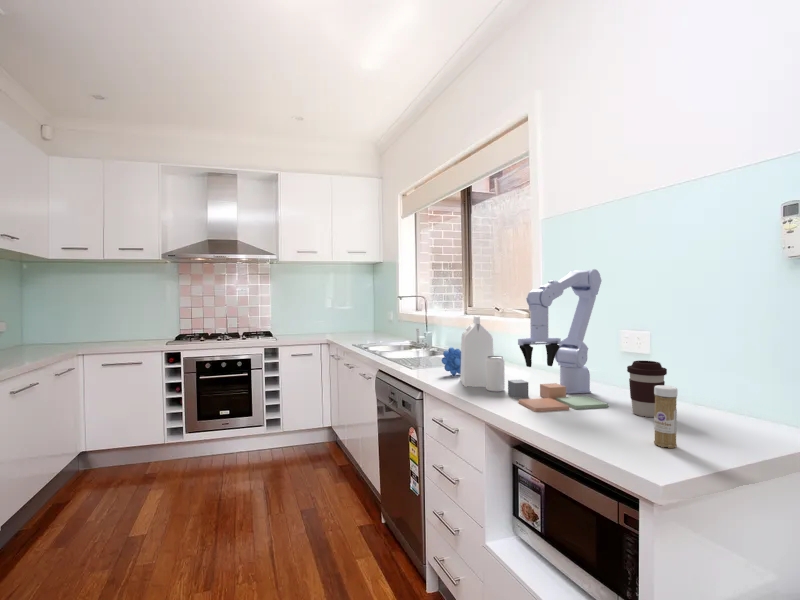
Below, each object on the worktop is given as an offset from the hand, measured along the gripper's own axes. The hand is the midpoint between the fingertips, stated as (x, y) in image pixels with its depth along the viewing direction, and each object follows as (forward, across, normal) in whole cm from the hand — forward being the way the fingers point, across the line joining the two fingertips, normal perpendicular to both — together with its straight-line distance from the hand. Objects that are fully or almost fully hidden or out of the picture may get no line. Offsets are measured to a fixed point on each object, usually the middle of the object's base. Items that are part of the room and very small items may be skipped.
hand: (539, 366), depth 151 cm
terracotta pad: (+10, +5, +11) cm, 16 cm away
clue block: (+10, -4, +1) cm, 11 cm away
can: (+11, +9, -14) cm, 20 cm away
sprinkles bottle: (+11, -4, +50) cm, 51 cm away
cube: (+11, +6, -4) cm, 13 cm away
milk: (+11, +11, -27) cm, 32 cm away
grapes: (+11, +14, -45) cm, 49 cm away
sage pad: (+10, -8, +11) cm, 17 cm away
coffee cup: (+11, -19, +26) cm, 34 cm away
